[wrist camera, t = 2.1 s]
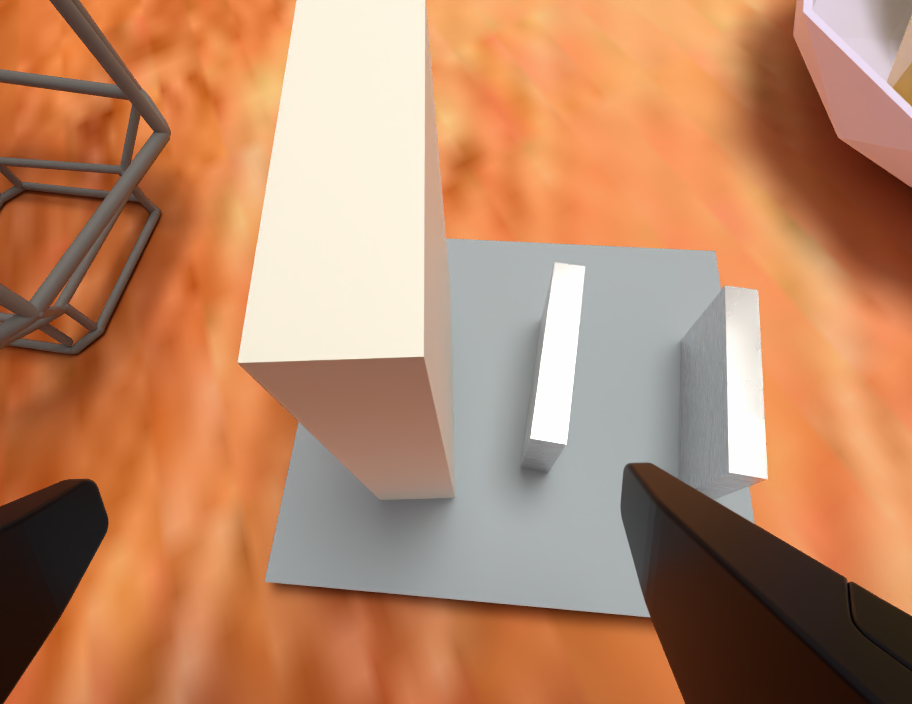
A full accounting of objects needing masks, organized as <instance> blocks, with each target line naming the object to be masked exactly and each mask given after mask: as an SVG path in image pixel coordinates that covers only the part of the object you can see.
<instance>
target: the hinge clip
mask: <svg viewBox="0 0 912 704" xmlns="http://www.w3.org/2000/svg"><path fill="white" fill-rule="evenodd" d="M584 273H585V266H579V265H572V264H565V263H557V262H554V266H553V271H552V275H551V279H550V283H549V287H548V292H547V296H546V300H545V304H544V309H543V313H542V317H541V322H540V329H539V337H538V344H537V351H536V358H535V365H534V372H533V380H532V387H531V394H530V401H529V408H528V415H527V423H526V430H525V437H524V444H523V451H522V458H521V466H520V468H521V469H527V470H533V471H538V472H544V473H549V472H550V470H551V469H552V467H553V465H554V464H555V462H556V460H557V459H558V457H559V456H560V454H561V452H562V451H563V449H564V447H565V446H566V444H567V434H568V425H569V415H570V406H571V396H572V387H573V377H574V368H575V359H576V349H577V340H578V330H579V321H580V311H581V302H582V292H583V283H584ZM678 479H680V480H681V481H683V482H685V483H686V484H688V485H690V486H691V487H693V488H695V489H696V490H698V491H700V492H701V493H703V494H705V495H707V496H708V497H710V498H712V499H713V500H715V499H718V498H720V497H723V496H726V495H728V494H731V493H733V492H736V491H738V490H741V489H744V488H746V487H749V486H751V485H754V484H756V483H759V482H762V481H764V480H767V479H768V475H767V456H766V436H765V417H764V397H763V378H762V358H761V338H760V319H759V299H758V290H754V289H747V288H740V287H732V286H724V287H723V289H722V290H721V291H720V292H719V294H718V295H717V296H716V297H715V299H714V300H713V301H712V302H711V303H710V305H709V306H708V307H707V308H706V310H705V311H704V312H703V313H702V315H701V316H700V317H699V318H698V320H697V321H696V322H695V323H694V324H693V326H692V327H691V328H690V329H689V331H688V332H687V333H686V334H685V336H684V337H683V338H682V339H681V348H680V406H679V463H678Z"/></svg>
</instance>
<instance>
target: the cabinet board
mask: <svg viewBox="0 0 912 704" xmlns="http://www.w3.org/2000/svg"><path fill="white" fill-rule="evenodd" d="M446 245H447V256H448V268H449V280H450V292H451V324H452V372H453V421H454V469H455V498H433V499H398V500H380V499H378V498H377V497H376V496H375V495H374V494H373V493H372V492H371V491H370V490H369V489H368V488H367V487H366V486H365V485H364V484H363V483H362V482H361V481H360V480H359V479H358V478H357V477H356V476H355V475H354V474H353V473H351V472H350V471H349V470H348V469H347V468H346V467H345V466H344V465H343V464H342V463H341V462H340V461H339V460H338V459H337V458H336V457H335V456H334V455H333V454H332V453H331V452H330V451H329V450H328V449H327V448H326V447H324V446H323V445H322V444H321V443H320V442H319V441H318V440H317V439H316V438H315V437H314V436H313V435H312V434H311V433H310V432H309V431H308V430H307V429H306V428H305V427H304V426H303V425H302V424H301V423H300V422H299V423H298V427H297V432H296V437H295V441H294V446H293V451H292V455H291V460H290V465H289V469H288V474H287V479H286V484H285V488H284V493H283V498H282V502H281V507H280V512H279V516H278V521H277V526H276V530H275V535H274V540H273V545H272V549H271V554H270V559H269V563H268V568H267V573H266V577H265V582H272V583H283V584H294V585H305V586H315V587H326V588H337V589H348V590H359V591H370V592H381V593H391V594H402V595H413V596H424V597H435V598H446V599H457V600H467V601H478V602H489V603H500V604H511V605H522V606H533V607H543V608H554V609H565V610H576V611H587V612H598V613H609V614H619V615H630V616H641V617H650V614H649V612H648V609H647V606H646V604H645V601H644V597H643V594H642V590H641V587H640V583H639V580H638V576H637V572H636V569H635V565H634V561H633V558H632V554H631V551H630V547H629V543H628V540H627V536H626V532H625V529H624V525H623V521H622V517H621V510H620V503H621V491H622V479H623V470H624V467H625V465H626V464H627V463H640V462H649V463H652V464H654V465H656V466H658V467H659V468H661V469H663V470H664V471H666V472H668V473H669V474H671V475H673V476H674V477H676V478H678V463H679V406H680V348H681V339H682V338H683V337H684V336H685V334H686V333H687V332H688V331H689V329H690V328H691V327H692V326H693V324H694V323H695V322H696V321H697V320H698V318H699V317H700V316H701V315H702V313H703V312H704V311H705V310H706V308H707V307H708V306H709V305H710V303H711V302H712V301H713V300H714V299H715V297H716V296H717V295H718V294H719V292H720V291H721V287H720V280H719V273H718V266H717V259H716V252H715V251H700V250H678V249H657V248H636V247H615V246H594V245H573V244H551V243H530V242H509V241H488V240H467V239H446ZM554 262H557V263H565V264H572V265H579V266H585V273H584V283H583V292H582V302H581V311H580V321H579V330H578V340H577V349H576V359H575V368H574V377H573V387H572V396H571V406H570V415H569V425H568V434H567V444H566V446H565V447H564V449H563V451H562V452H561V454H560V456H559V457H558V459H557V460H556V462H555V464H554V465H553V467H552V469H551V470H550V472H549V473H544V472H538V471H533V470H527V469H521V468H520V466H521V458H522V451H523V444H524V437H525V430H526V423H527V415H528V408H529V401H530V394H531V387H532V380H533V372H534V365H535V358H536V351H537V344H538V337H539V329H540V322H541V317H542V313H543V309H544V304H545V300H546V296H547V292H548V287H549V283H550V279H551V275H552V271H553V266H554ZM715 501H717V502H718V503H720V504H722V505H723V506H725V507H727V508H729V509H730V510H732V511H734V512H735V513H737V514H739V515H740V516H742V517H744V518H745V519H747V520H749V521H751V522H752V523H754V517H753V510H752V503H751V496H750V489H749V487H746V488H744V489H741V490H738V491H736V492H733V493H731V494H728V495H726V496H723V497H720V498H718V499H715Z"/></svg>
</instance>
